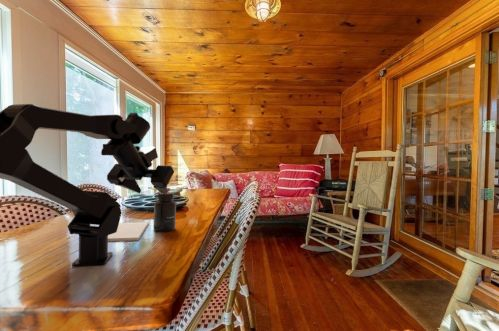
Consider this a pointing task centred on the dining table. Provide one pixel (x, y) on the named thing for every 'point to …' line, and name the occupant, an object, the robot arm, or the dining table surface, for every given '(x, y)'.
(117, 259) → the dining table surface
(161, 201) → the supplement bottle
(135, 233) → the pale grey mat
